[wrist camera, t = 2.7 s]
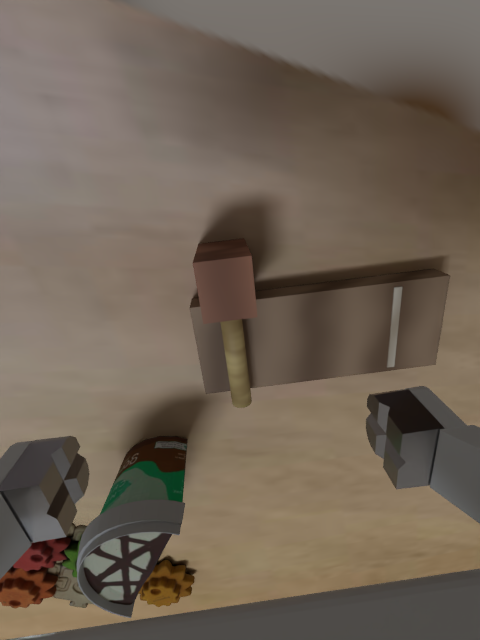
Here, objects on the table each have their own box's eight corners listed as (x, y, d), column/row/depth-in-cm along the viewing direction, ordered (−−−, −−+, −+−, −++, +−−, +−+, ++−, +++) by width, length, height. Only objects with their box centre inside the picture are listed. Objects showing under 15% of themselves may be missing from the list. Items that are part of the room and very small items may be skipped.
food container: (131, 409, 30) (93, 509, 21) (192, 428, 31) (182, 529, 22) (96, 494, 34) (52, 609, 25) (151, 508, 36) (128, 621, 26)
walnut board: (434, 268, 26) (451, 275, 24) (422, 353, 29) (436, 365, 28) (191, 298, 26) (189, 308, 24) (206, 380, 29) (205, 394, 27)
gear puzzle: (213, 544, 40) (212, 582, 36) (171, 613, 45) (166, 652, 42) (-66, 485, 33) (-102, 524, 29) (-76, 574, 39) (-107, 616, 35)
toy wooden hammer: (244, 238, 24) (251, 255, 19) (258, 376, 30) (267, 421, 24) (198, 243, 24) (192, 262, 19) (220, 380, 29) (221, 427, 24)
